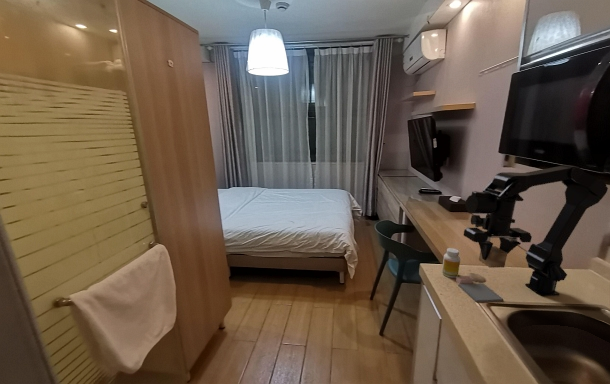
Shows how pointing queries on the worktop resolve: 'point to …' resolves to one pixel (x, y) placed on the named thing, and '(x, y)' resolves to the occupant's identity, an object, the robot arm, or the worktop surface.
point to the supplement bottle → (451, 263)
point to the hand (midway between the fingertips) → (491, 259)
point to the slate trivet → (480, 292)
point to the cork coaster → (476, 277)
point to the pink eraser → (464, 280)
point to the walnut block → (494, 258)
